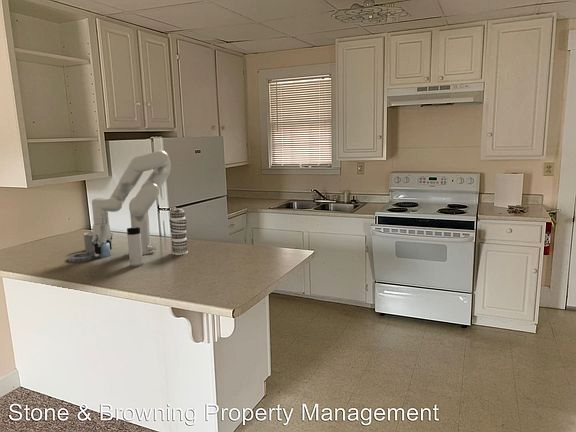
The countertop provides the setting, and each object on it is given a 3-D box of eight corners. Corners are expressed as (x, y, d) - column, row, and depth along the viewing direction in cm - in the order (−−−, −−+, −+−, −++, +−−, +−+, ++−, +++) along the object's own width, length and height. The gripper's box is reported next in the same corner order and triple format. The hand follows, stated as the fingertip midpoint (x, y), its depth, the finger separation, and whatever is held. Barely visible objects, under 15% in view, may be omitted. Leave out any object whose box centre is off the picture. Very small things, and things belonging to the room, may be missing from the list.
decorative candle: (178, 256, 236) (175, 210, 231) (168, 253, 242) (165, 209, 237) (192, 252, 243) (189, 208, 238) (181, 249, 249) (178, 206, 244)
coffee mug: (93, 253, 245) (92, 235, 243) (81, 251, 249) (79, 234, 247) (112, 247, 257) (111, 230, 255) (100, 245, 261) (99, 229, 259)
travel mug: (129, 267, 217) (126, 228, 213) (130, 264, 223) (127, 226, 219) (142, 266, 218) (139, 227, 215) (143, 262, 225) (140, 225, 221)
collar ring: (100, 256, 239) (99, 252, 238) (84, 262, 226) (84, 259, 226) (79, 255, 241) (79, 251, 241) (63, 261, 229) (62, 258, 228)
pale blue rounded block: (112, 254, 241) (111, 242, 240) (106, 257, 235) (105, 245, 234) (103, 254, 242) (102, 242, 241) (96, 257, 236) (95, 244, 235)
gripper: (104, 217, 244) (107, 247, 247) (84, 223, 227) (87, 255, 231) (116, 218, 242) (119, 247, 246) (97, 224, 226) (100, 256, 229)
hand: (103, 251), depth 238 cm, fingers open, 9 cm apart
